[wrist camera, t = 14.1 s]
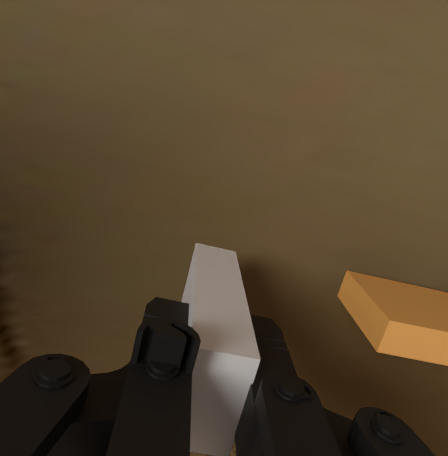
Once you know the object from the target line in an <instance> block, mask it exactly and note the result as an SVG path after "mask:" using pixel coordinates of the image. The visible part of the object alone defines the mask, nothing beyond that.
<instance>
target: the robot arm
mask: <svg viewBox="0 0 448 456" xmlns="http://www.w3.org/2000/svg"><path fill="white" fill-rule="evenodd" d="M234 441H235V444H236V454H237V456H435V455H434V454H433V453H432V452H431V451H430V450H429V448H428V447H427V446H426V445H425V444H424V443H423V442H422V441H421V439H420V438H419V437H418V436H417V435H416V434H415V433H414V431H413V430H412V429H411V428H410V427H409V426H407V425H406V424H405V423H404V422H403V421H402V420H401V419H399V418H397V417H396V416H394V415H393V414H392V413H389V412H387V411H385V410H382V409H379V408H373V407H365V408H361V409H360V410H359V411H358V412H357V413H356V415H355V417H354V420H351V419H348V418H346V417H343V416H341V415H338V414H336V413H333V412H331V411H329V410H327V409H325V408H323V407H322V404H321V402H320V399H319V397H318V395H317V393H316V392H315V390H314V389H313V388H312V387H311V386H310V385H309V384H308V383H307V382H305V381H304V380H302V379H300V378H299V377H297V374H296V371H295V369H294V366H293V363H292V360H291V357H290V354H289V351H287V346H286V343H285V342H284V337H283V334H282V331H281V329H280V328H279V327H278V326H277V325H276V324H275V323H274V321H273V320H272V319H270V318H265V317H260V316H255V315H250V312H249V308H248V303H247V299H246V295H245V290H244V286H243V282H242V277H241V273H240V269H239V264H238V260H237V256H236V252H235V251H231V250H226V249H222V248H217V247H212V246H208V245H203V244H199V243H196V245H195V249H194V253H193V257H192V261H191V265H190V269H189V273H188V277H187V281H186V285H185V289H184V293H183V297H182V302H178V301H173V300H168V299H163V298H158V297H156V298H154V299H153V300H152V301H151V302H149V303H148V304H147V306H146V310H145V313H144V317H143V321H142V324H141V325H140V327H139V328H138V330H137V334H136V339H135V344H134V348H133V353H132V357H131V361H130V362H129V363H128V364H127V365H126V366H124V367H123V368H121V369H119V370H116V371H113V372H108V373H101V374H90V370H89V368H88V367H87V366H86V365H85V363H84V362H83V361H81V360H79V359H77V358H75V357H73V356H68V355H63V354H46V355H42V356H38V357H35V358H32V359H31V360H29V361H27V362H26V363H24V364H22V365H21V366H20V367H19V368H18V369H17V370H15V371H14V372H13V373H12V374H11V375H10V376H8V377H7V378H6V379H5V380H4V381H3V382H2V383H0V456H190V452H194V453H200V454H207V455H213V456H230V453H231V450H232V447H233V444H234Z"/></svg>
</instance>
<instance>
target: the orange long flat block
mask: <svg viewBox="0 0 448 456" xmlns="http://www.w3.org/2000/svg"><path fill="white" fill-rule="evenodd" d="M338 298H339V299H340V301H341V302H342V303H343V305H344V306H345V308H346V309H347V311H348V312H349V313H350V315H351V316H352V318H353V319H354V320H355V322H356V323H357V325H358V326H359V328H360V329H361V330H362V332H363V333H364V335H365V336H366V338H367V339H368V340H369V342H370V343H371V345H372V346H373V347H374V349H375V350H376V352H379V353H384V354H389V355H394V356H399V357H405V358H410V359H415V360H420V361H425V362H430V363H436V364H441V365H446V366H448V293H447V292H443V291H438V290H433V289H429V288H424V287H420V286H415V285H411V284H406V283H402V282H397V281H392V280H388V279H383V278H379V277H374V276H370V275H365V274H360V273H356V272H351V271H346V274H345V276H344V279H343V282H342V285H341V287H340V290H339V293H338Z"/></svg>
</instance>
